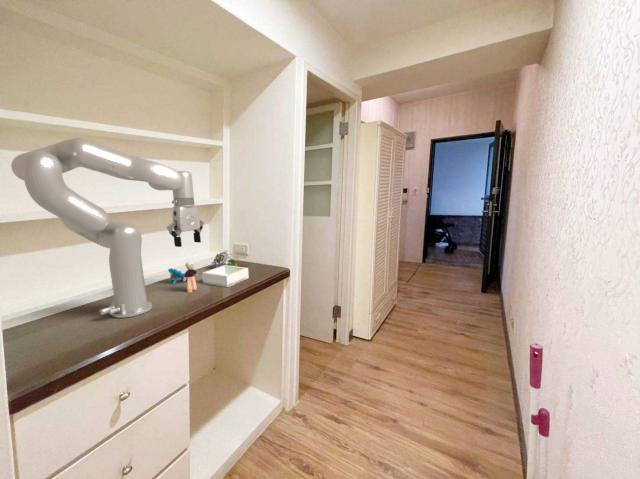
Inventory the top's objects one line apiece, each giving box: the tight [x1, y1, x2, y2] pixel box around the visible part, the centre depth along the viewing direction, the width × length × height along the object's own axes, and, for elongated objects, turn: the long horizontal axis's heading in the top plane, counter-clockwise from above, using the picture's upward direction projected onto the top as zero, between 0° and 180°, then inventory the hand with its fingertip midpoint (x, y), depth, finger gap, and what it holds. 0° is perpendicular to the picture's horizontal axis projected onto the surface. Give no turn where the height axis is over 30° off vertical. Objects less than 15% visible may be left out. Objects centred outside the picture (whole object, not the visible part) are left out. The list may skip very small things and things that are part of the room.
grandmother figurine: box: [182, 261, 199, 294], centre depth 127 cm, size 8×4×13 cm, turn 170°
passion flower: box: [211, 249, 240, 268], centre depth 161 cm, size 11×11×12 cm
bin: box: [201, 264, 250, 288], centre depth 140 cm, size 14×14×5 cm
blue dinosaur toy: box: [167, 267, 187, 285], centre depth 138 cm, size 11×6×10 cm
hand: (188, 244), depth 125 cm, fingers open, 9 cm apart
